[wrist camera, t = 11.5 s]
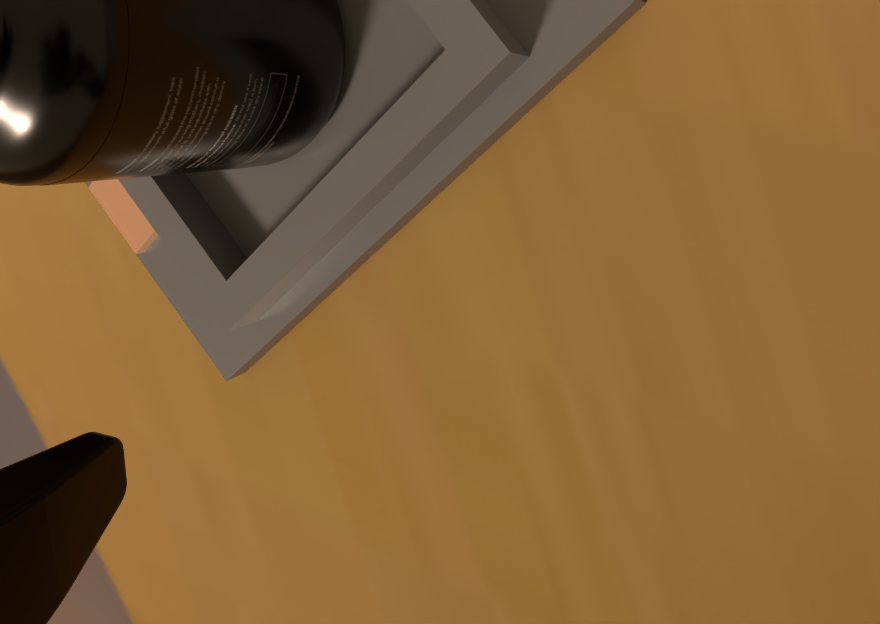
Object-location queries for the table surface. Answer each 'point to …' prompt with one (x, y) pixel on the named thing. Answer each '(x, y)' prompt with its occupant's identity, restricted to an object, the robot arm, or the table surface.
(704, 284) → the table surface
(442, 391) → the table surface
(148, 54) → the supplement bottle
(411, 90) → the grey recessed tray
